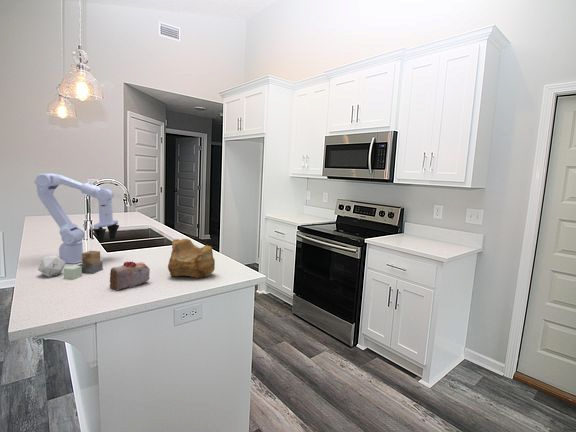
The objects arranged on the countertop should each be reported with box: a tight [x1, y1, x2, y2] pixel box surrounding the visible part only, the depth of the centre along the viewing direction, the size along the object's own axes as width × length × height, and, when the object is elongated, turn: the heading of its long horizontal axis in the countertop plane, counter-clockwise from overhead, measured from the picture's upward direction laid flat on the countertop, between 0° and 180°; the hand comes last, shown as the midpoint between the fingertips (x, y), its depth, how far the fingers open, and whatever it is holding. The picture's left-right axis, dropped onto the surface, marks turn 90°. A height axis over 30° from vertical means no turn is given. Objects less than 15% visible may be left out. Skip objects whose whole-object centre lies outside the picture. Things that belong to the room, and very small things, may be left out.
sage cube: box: [62, 265, 83, 281], centre depth 137 cm, size 4×4×4 cm
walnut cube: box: [81, 250, 102, 265], centre depth 145 cm, size 5×5×5 cm
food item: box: [109, 261, 151, 291], centre depth 130 cm, size 14×8×10 cm, turn 144°
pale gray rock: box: [37, 254, 67, 278], centre depth 138 cm, size 8×9×10 cm
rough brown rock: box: [167, 238, 216, 279], centre depth 145 cm, size 23×17×15 cm
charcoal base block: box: [78, 261, 103, 275], centre depth 145 cm, size 6×6×4 cm
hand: (107, 240), depth 160 cm, fingers open, 7 cm apart
